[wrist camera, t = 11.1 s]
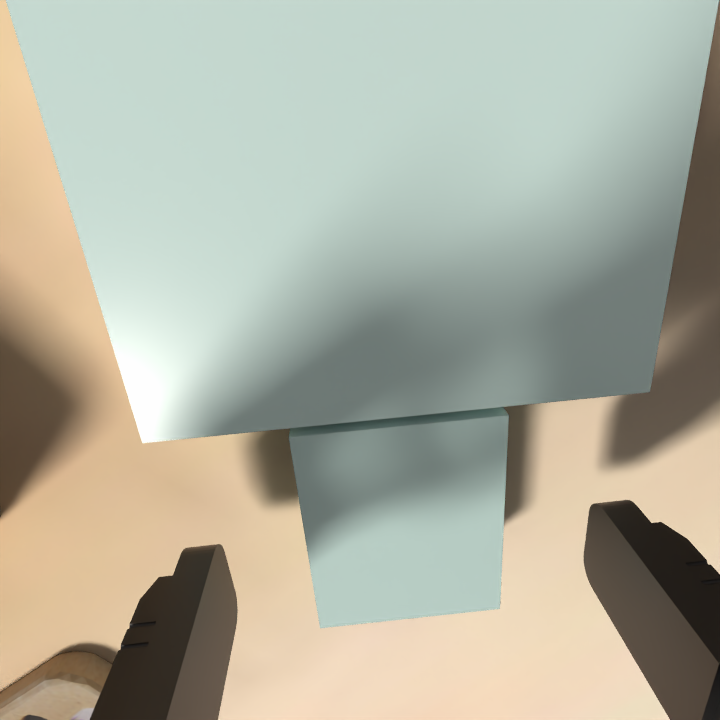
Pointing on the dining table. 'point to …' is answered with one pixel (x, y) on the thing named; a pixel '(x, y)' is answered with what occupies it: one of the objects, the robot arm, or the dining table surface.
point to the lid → (375, 241)
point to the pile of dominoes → (57, 689)
